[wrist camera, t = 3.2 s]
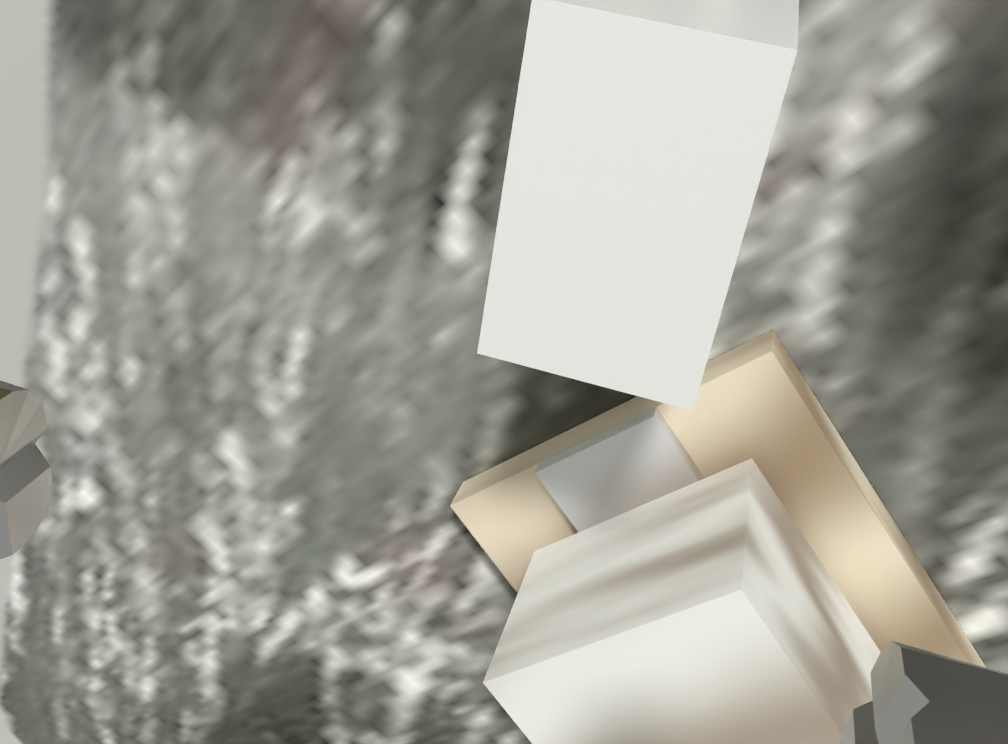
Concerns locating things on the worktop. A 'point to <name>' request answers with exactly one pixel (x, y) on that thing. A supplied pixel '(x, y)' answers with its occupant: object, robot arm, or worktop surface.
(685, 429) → the rail board
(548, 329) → the block
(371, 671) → the worktop surface
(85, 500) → the worktop surface
